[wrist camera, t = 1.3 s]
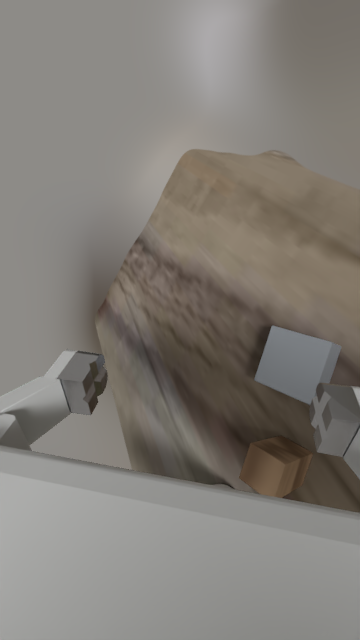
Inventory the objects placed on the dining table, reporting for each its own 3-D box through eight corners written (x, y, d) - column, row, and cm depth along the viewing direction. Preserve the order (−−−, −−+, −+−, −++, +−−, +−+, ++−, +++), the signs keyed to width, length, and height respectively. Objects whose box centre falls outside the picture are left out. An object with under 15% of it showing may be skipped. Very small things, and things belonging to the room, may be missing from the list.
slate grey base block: (342, 346, 44) (332, 342, 40) (322, 404, 44) (311, 405, 40) (285, 330, 50) (272, 325, 46) (268, 381, 50) (254, 380, 46)
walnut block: (313, 453, 43) (285, 464, 36) (302, 485, 43) (272, 503, 36) (281, 435, 47) (250, 442, 39) (271, 465, 47) (238, 478, 39)
